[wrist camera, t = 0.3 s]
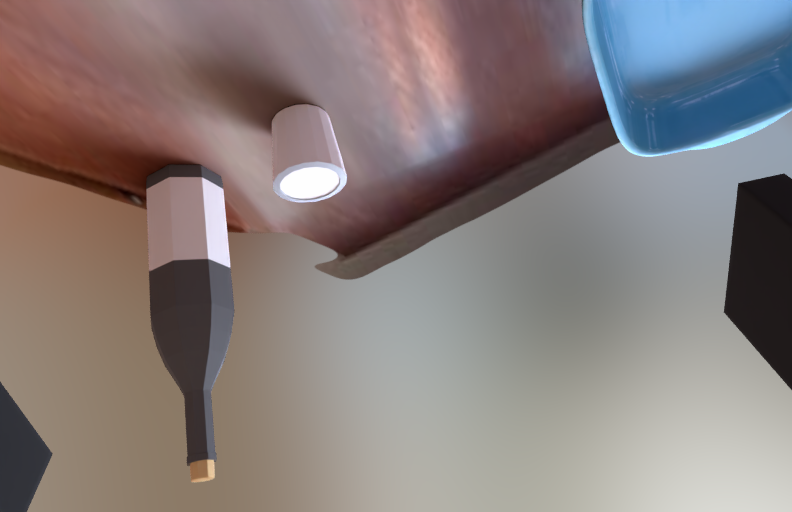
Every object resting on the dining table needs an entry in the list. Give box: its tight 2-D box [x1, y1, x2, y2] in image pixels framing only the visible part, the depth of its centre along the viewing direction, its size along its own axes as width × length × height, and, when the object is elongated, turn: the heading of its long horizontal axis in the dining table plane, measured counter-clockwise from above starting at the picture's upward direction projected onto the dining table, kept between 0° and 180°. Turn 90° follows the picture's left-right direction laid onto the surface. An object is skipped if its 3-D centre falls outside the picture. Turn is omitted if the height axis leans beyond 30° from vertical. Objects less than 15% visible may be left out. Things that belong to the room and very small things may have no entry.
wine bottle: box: [146, 165, 234, 482], centre depth 61 cm, size 8×8×30 cm
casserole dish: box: [582, 0, 792, 156], centre depth 53 cm, size 37×22×7 cm, turn 26°
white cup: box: [272, 104, 347, 203], centre depth 61 cm, size 7×7×7 cm
